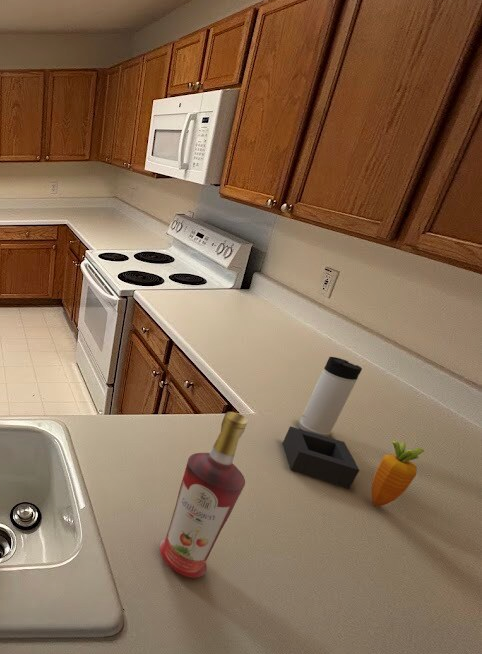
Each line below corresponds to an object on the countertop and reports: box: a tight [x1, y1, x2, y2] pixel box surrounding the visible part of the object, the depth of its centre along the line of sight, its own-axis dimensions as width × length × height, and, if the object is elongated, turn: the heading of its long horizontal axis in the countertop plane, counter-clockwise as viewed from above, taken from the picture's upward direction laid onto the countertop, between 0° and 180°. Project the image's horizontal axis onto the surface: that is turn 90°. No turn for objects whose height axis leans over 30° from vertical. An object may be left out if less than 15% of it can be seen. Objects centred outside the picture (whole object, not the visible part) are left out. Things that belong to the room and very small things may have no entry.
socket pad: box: [282, 425, 360, 490], centre depth 90 cm, size 10×10×5 cm
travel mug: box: [297, 356, 363, 438], centre depth 99 cm, size 6×7×20 cm
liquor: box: [159, 411, 249, 578], centre depth 60 cm, size 7×7×28 cm
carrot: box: [370, 440, 425, 507], centre depth 78 cm, size 5×5×15 cm
